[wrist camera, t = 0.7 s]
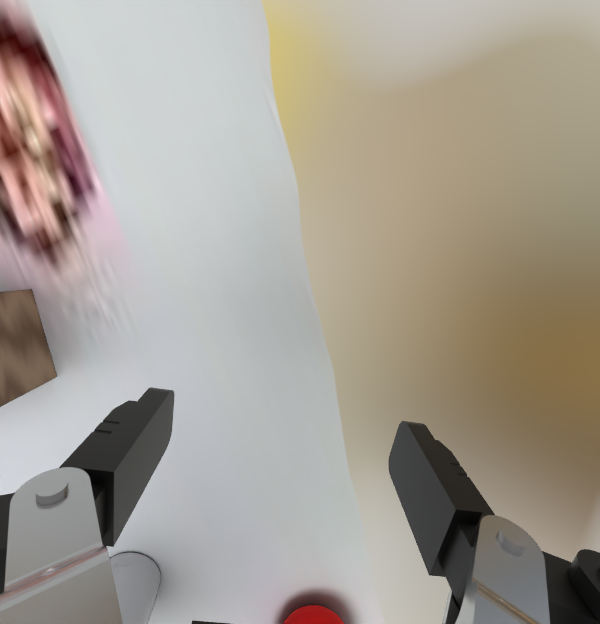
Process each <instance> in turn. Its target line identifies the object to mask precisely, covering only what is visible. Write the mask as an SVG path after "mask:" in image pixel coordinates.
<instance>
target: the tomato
mask: <svg viewBox="0 0 600 624" xmlns="http://www.w3.org/2000/svg"><path fill="white" fill-rule="evenodd" d="M283 624H344V622H343V621H342V620H341V619H340V617H339V616H338V615H337V614H336V613H334V612H333V611H331V610H330V609H328V608H325V607H322V606H317V605H307V606H304V607H301V608H299V609H297V610H295V611H294V612H292V613H291V614H290V615H289V616H288V618H287V619H286V620H285V621H284V623H283Z"/></svg>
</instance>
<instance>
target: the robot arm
mask: <svg viewBox="0 0 600 624" xmlns="http://www.w3.org/2000/svg"><path fill="white" fill-rule="evenodd" d="M173 407H174V391H172V390H165V389H158V388H149V389H148V390H147V391H146V392H145V393H144V394H143V396H142V397H141V398H140V399H139V400H138V402H137V401H127V402H125V403H124V404H122V405H120V406H118V407H116V408H115V409H113V410H112V411H111V413H110V414H109V415H108V416H107V417H106V418H105V419H104V420H103V422H101V423H100V424H99V425H98V427H97V428H96V429H95V431H94V432H92V433H91V434H90V435H89V436H88V437H87V438H86V439H85V440H84V442H83V443H82V444H81V445H80V446H79V447H78V448H77V449H76V450H75V451H74V452H73V453H72V454H71V456H70V457H69V458H68V459H67V460H66V461H65V462H64V463H63V464H62V465H61V466H60V467H59V468H57V469H53V470H49V471H46V472H44V473H41V474H39V475H37V476H35V477H34V478H32V479H30V480H29V481H27V482H26V483H25V484H23V485H22V486H21V487H20V488H19V489H18V490H17V491H16V492H15V493H12V494H6V495H0V624H148V621H149V618H150V615H151V612H152V610H153V607H154V604H155V601H156V594H157V591H158V588H159V584H160V578H161V575H160V571H159V569H158V567H157V565H156V564H155V563H154V562H153V561H152V560H151V559H150V558H148V557H146V556H144V555H142V554H138V553H122V554H118V555H115V556H113V557H112V558H109V553H108V550H107V547H106V546H113V547H114V545H115V543H116V541H117V539H118V537H119V536H120V534H121V532H122V530H123V528H124V526H125V524H126V523H127V521H128V519H129V517H130V515H131V513H132V512H133V510H134V508H135V506H136V504H137V502H138V500H139V499H140V497H141V495H142V493H143V491H144V489H145V487H146V486H147V484H148V482H149V480H150V478H151V476H152V475H153V473H154V471H155V469H156V467H157V465H158V463H159V462H160V460H161V458H162V456H163V454H164V452H165V450H166V448H167V446H168V444H169V441H170V437H171V432H172V421H173ZM389 472H390V475H391V479H392V481H393V484H394V486H395V489H396V491H397V494H398V497H399V499H400V502H401V504H402V507H403V509H404V512H405V514H406V517H407V519H408V522H409V525H410V527H411V530H412V532H413V535H414V537H415V540H416V543H417V545H418V548H419V550H420V553H421V555H422V558H423V561H424V563H425V565H426V568H427V571H428V573H429V575H432V576H443V577H446V579H447V581H448V583H449V585H450V587H451V590H450V592H449V594H448V598H447V603H446V608H445V612H444V617H443V622H442V624H600V553H598V552H596V551H592V550H586V549H584V550H580V551H579V552H578V554H577V555H576V557H575V559H574V561H573V562H572V563H571V562H569V561H566V560H564V559H561V558H559V557H556V556H553V555H551V554H548V553H546V552H543V551H541V549H540V547H539V546H538V544H537V543H536V542H535V541H534V539H533V538H532V537H531V536H530V535H529V534H528V533H527V532H526V531H524V530H523V529H522V528H520V527H519V526H518V525H516V524H514V523H513V522H511V521H509V520H507V519H505V518H503V517H500V516H496V515H495V514H494V513H493V511H492V510H491V508H490V507H489V506H488V504H487V503H486V501H485V500H484V498H483V497H482V495H481V494H480V492H479V491H478V490H477V488H476V487H475V485H474V484H473V482H472V481H471V479H470V478H469V477H467V474H466V472H465V471H464V469H463V468H462V467H461V466H460V464H459V462H458V461H457V459H456V458H455V456H454V455H453V453H452V452H451V451H450V450H449V449H448V448H446V447H445V446H444V445H443V444H442V443H441V442H440V441H438V440H435V439H434V437H433V436H432V434H431V433H430V431H429V430H428V428H427V427H426V425H424V424H421V423H413V422H406V421H402V422H401V423H400V424H399V427H398V430H397V433H396V436H395V440H394V443H393V446H392V449H391V453H390V456H389ZM192 624H228V623H215V622H203V621H192Z"/></svg>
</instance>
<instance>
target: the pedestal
mask: <svg viewBox="0 0 600 624" xmlns="http://www.w3.org/2000/svg"><path fill="white" fill-rule="evenodd" d="M56 377H57V375H56V372H55V368H54V365H53V361H52V358H51V354H50V351H49V348H48V344H47V341H46V337H45V334H44V330H43V327H42V323H41V320H40V317H39V313H38V310H37V306H36V303H35V299H34V296H33V293H32V289H30V290H20V291H10V292H0V407H1V406H3V405H5V404H6V403H8V402H10V401H12V400H14V399H16V398H18V397H20V396H22V395H24V394H25V393H27V392H29V391H31V390H33V389H35V388H37V387H39V386H41V385H43V384H44V383H46V382H48V381H50V380H52V379H54V378H56Z"/></svg>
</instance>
